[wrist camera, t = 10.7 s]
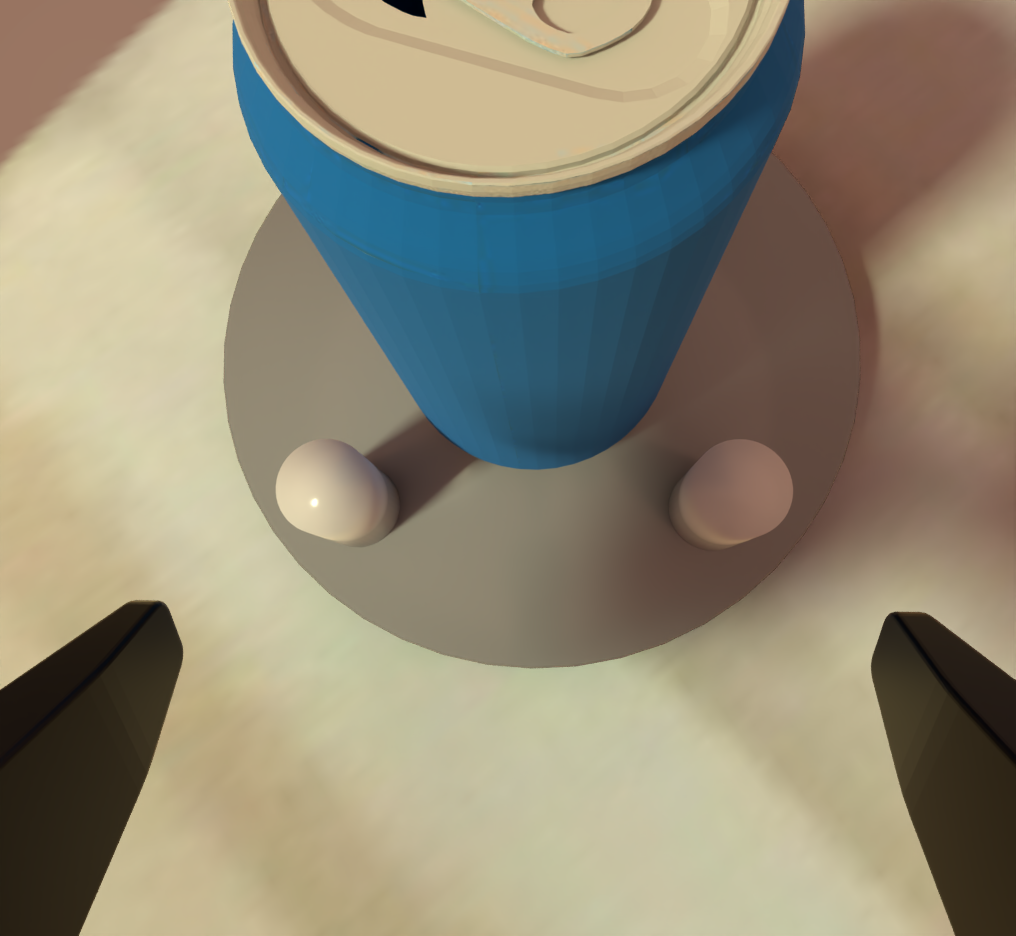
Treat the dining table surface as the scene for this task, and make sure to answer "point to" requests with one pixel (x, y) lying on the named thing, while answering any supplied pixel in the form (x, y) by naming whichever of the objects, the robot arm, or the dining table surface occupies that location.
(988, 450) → the dining table surface
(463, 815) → the dining table surface
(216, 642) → the dining table surface
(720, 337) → the peg stand
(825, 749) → the dining table surface
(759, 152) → the beverage can
